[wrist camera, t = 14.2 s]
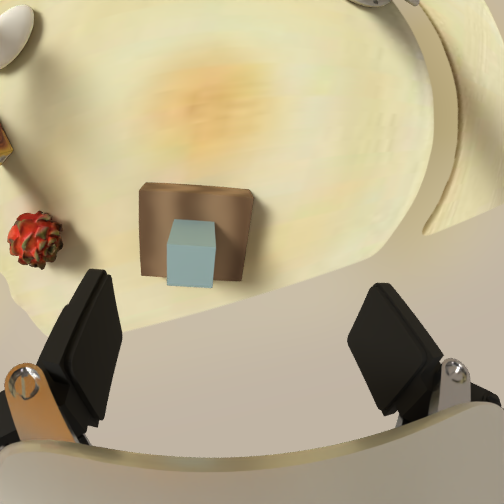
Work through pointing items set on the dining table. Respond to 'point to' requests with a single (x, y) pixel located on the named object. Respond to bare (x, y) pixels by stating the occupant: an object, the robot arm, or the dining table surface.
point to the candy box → (4, 146)
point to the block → (191, 253)
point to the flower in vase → (14, 32)
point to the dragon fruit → (35, 239)
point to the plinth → (200, 209)
